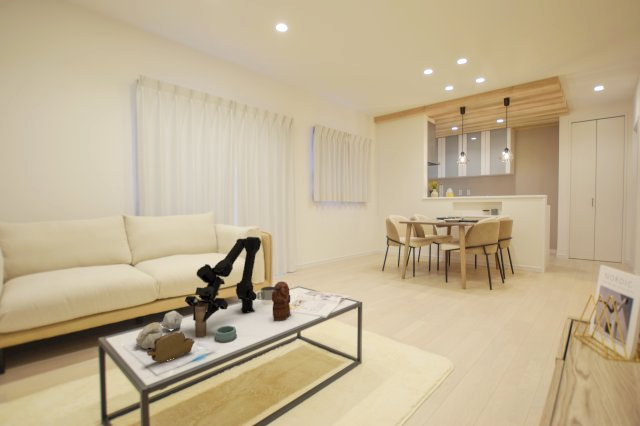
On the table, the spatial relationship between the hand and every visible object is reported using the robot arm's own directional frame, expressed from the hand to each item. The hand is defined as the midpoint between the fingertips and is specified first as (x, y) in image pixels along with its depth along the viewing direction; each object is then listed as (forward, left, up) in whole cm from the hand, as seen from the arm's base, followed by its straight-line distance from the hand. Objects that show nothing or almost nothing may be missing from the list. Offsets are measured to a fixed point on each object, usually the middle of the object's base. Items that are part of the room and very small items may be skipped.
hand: (198, 320), depth 138 cm
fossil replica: (0, -19, -7) cm, 20 cm away
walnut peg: (-1, +1, -7) cm, 7 cm away
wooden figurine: (-7, +39, -7) cm, 41 cm away
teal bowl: (+6, +10, -7) cm, 14 cm away
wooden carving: (+16, -11, -7) cm, 20 cm away
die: (-14, -11, -7) cm, 19 cm away
